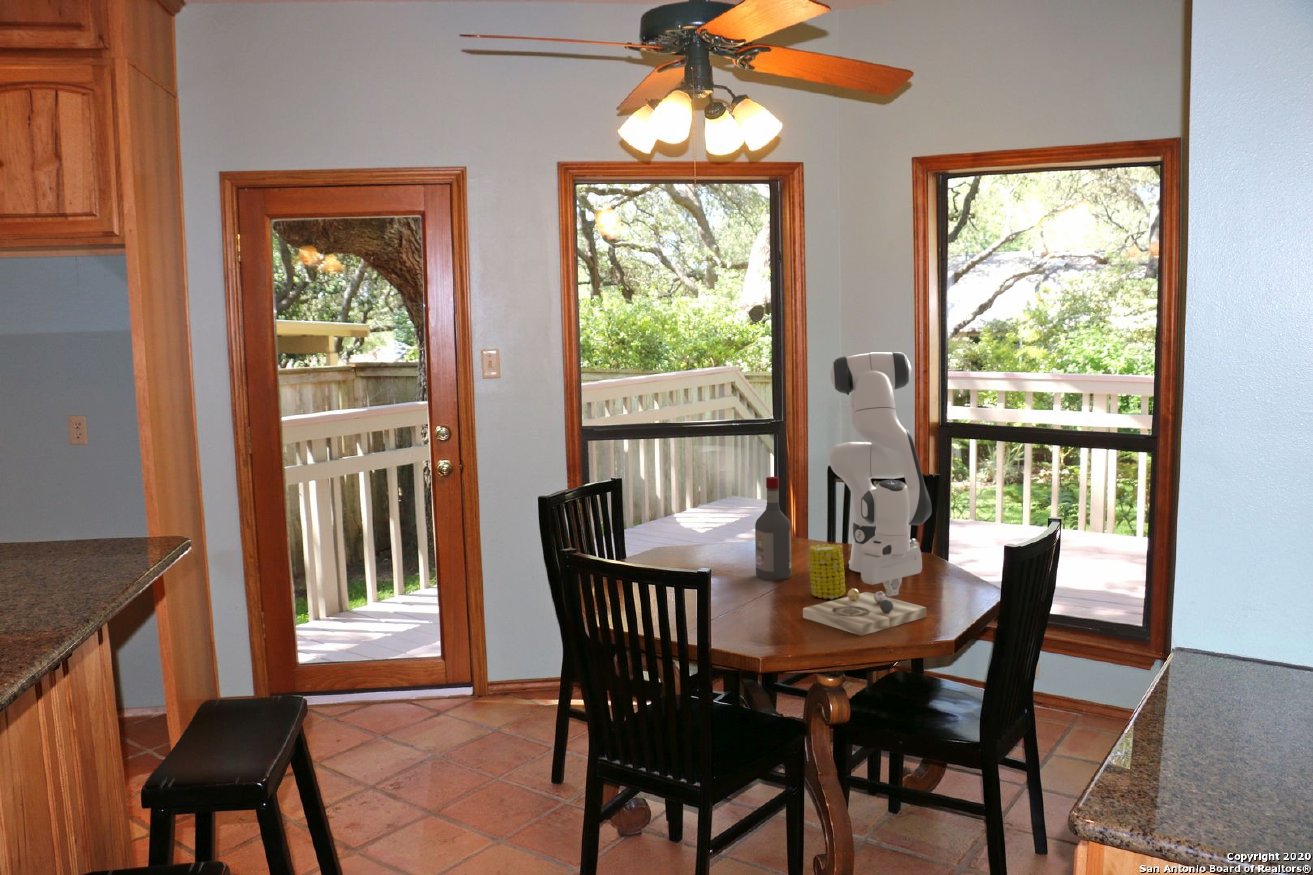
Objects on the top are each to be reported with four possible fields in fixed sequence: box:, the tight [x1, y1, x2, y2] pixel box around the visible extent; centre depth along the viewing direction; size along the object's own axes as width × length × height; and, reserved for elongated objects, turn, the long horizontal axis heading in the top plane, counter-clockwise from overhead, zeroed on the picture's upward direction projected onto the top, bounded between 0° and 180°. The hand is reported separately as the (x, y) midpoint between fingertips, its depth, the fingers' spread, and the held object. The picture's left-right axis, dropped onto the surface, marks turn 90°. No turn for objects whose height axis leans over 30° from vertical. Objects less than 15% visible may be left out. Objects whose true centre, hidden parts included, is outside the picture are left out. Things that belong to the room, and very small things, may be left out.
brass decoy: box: [846, 588, 860, 601], centre depth 266 cm, size 3×3×3 cm
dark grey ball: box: [880, 600, 893, 613], centre depth 254 cm, size 3×3×3 cm
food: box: [808, 543, 846, 601], centre depth 280 cm, size 15×12×10 cm
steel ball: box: [874, 590, 888, 604], centre depth 262 cm, size 3×3×3 cm
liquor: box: [754, 476, 792, 582], centre depth 301 cm, size 9×9×30 cm
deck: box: [802, 591, 927, 636], centre depth 259 cm, size 24×20×2 cm
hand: (892, 595), depth 265 cm, fingers closed
